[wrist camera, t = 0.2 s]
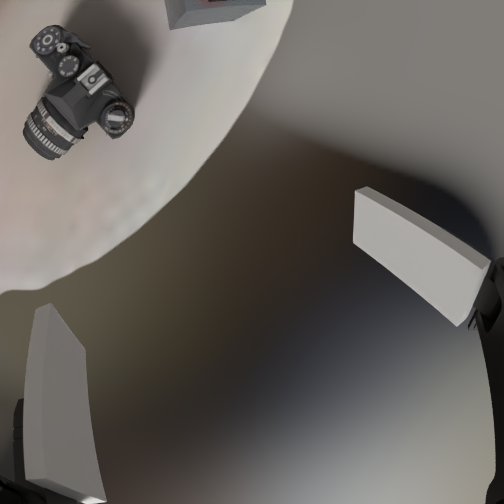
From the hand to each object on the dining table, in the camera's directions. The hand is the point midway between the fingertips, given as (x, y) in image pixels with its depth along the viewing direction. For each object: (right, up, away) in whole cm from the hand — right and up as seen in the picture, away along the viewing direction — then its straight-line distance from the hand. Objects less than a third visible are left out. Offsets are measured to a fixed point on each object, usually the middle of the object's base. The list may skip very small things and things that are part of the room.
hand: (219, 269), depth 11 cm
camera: (-19, +18, +15) cm, 30 cm away
